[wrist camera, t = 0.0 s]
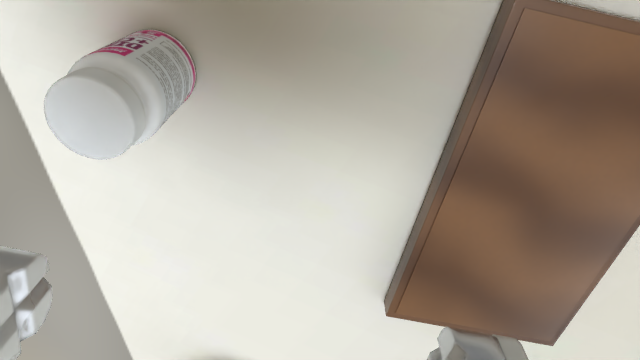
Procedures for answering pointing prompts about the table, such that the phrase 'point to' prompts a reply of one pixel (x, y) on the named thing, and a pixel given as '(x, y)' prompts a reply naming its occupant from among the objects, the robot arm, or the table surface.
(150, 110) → the pill bottle
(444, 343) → the robot arm
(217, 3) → the table surface
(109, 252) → the table surface
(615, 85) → the cutting board
